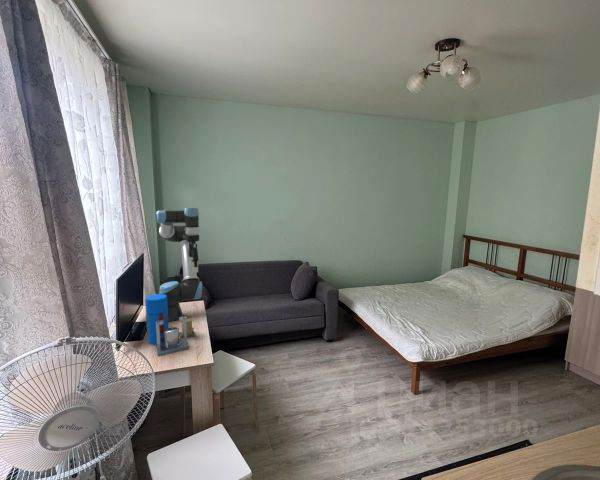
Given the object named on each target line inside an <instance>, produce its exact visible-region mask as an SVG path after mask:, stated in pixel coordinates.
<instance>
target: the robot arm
mask: <svg viewBox="0 0 600 480" xmlns="http://www.w3.org/2000/svg"><path fill="white" fill-rule="evenodd" d="M199 214H200V213H199V208H198V207H185V208H184V210H164V209H163V210H157V211H156V223H157V224H160V226H159V231H158V234H159V235H160V237H161V238H162V239H163V240H165V241H167V242H170V243H178V245H179V246H180V249H181V260H182V273H183V274H182V276H183V279H182V280H181V283H179V282H178V281H176V280H175V281H168V282H165V283H162V284H160V286H159V293H158V294H164V295H166V296H167V305H168V323H169V322H175V321H177V320H179V317H184V316H183V313H184V312H183V311H182V308H181V306H180V302H185V301H194V300H199V299H201V298H202V292H203V281H200V278H199V277H198V276H197V275H198V273H199V254H198V252H199V251H198V243H197V242H199V241H200V225H199V224H200V222H199V221H200V218H199V216H200V215H199ZM174 224H184V225H174Z"/></svg>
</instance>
